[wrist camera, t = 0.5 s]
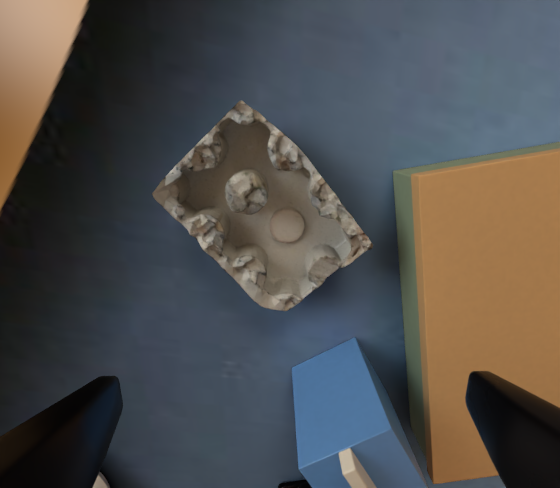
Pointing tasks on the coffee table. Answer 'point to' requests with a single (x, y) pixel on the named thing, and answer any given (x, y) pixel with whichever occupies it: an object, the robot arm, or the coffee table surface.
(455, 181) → the board
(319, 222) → the egg carton
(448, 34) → the coffee table surface
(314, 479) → the carton
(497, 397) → the robot arm
